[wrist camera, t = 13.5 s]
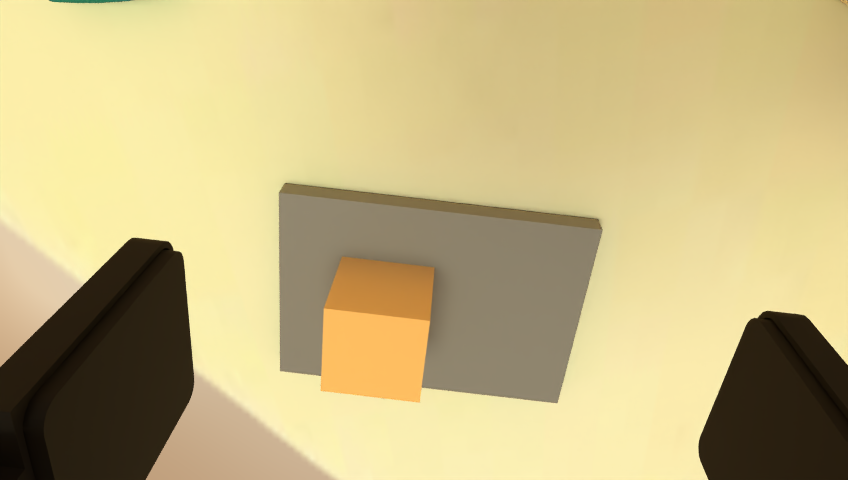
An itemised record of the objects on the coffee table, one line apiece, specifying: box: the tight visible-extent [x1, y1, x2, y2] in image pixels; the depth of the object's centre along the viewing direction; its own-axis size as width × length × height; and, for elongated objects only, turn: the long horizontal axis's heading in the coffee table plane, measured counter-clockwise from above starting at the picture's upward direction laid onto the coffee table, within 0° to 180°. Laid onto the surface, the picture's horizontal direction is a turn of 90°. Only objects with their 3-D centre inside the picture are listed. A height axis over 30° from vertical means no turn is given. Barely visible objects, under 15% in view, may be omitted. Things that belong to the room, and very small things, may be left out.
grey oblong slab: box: [279, 183, 602, 403], centre depth 43 cm, size 20×14×2 cm
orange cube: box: [321, 257, 435, 402], centre depth 40 cm, size 6×6×6 cm
